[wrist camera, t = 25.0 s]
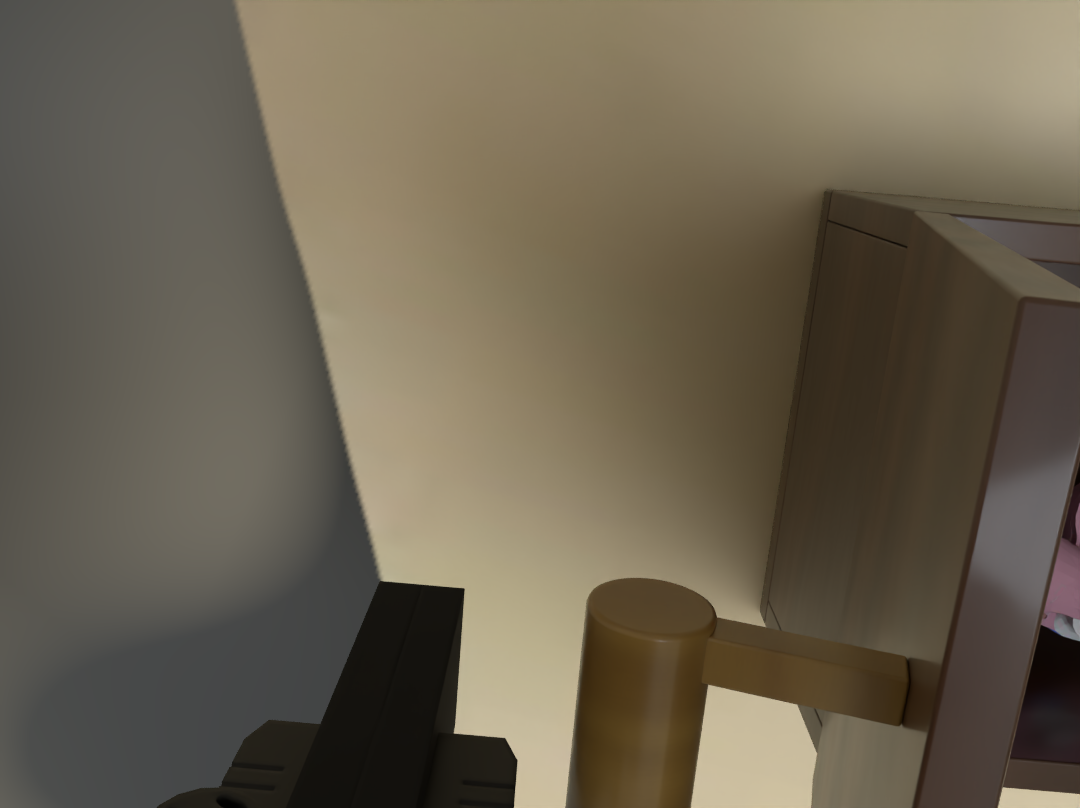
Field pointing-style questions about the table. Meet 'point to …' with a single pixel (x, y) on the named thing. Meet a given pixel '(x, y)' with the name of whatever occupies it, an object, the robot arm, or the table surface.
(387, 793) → the robot arm
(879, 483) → the chest lid
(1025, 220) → the chest
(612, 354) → the table surface
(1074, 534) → the video game controller
